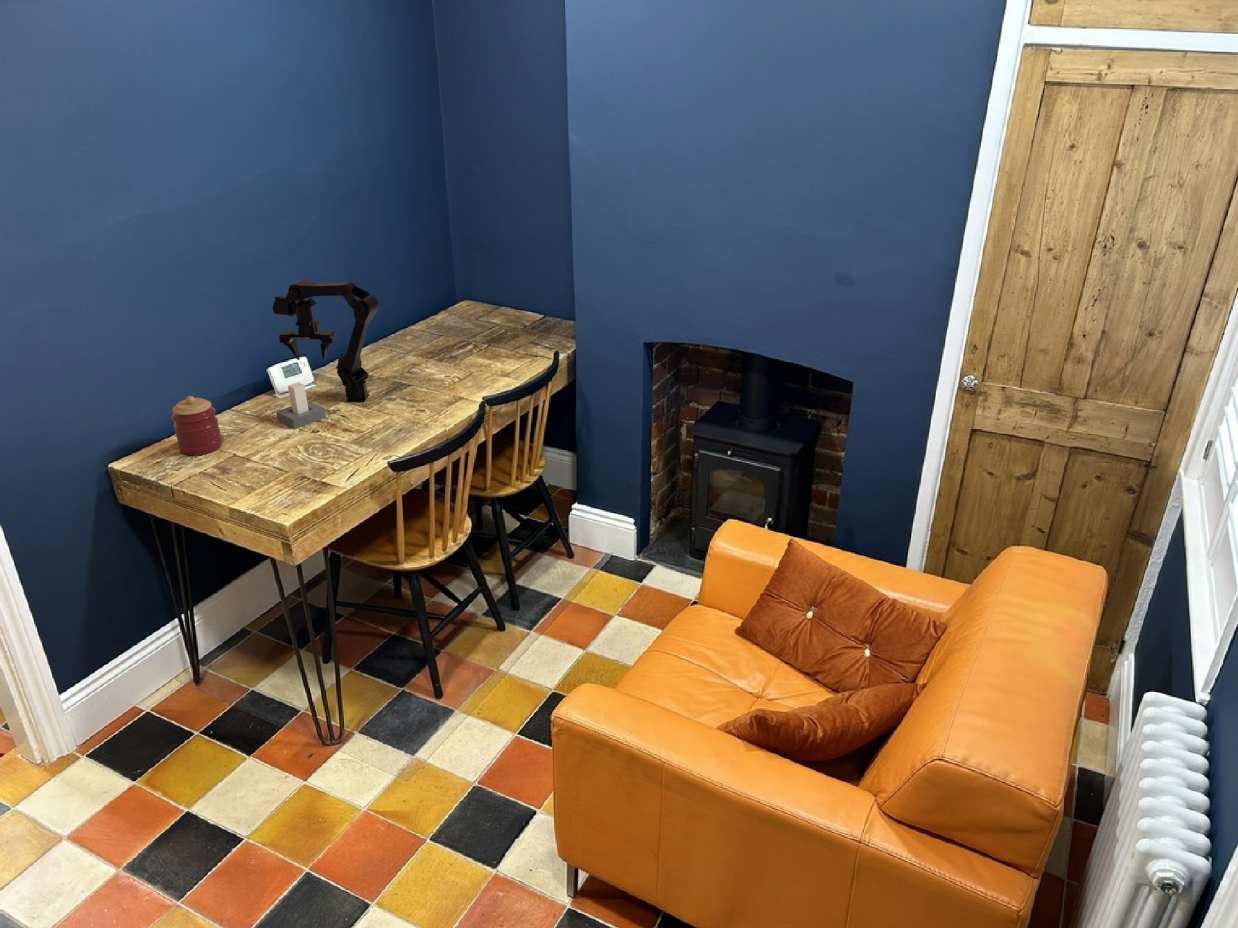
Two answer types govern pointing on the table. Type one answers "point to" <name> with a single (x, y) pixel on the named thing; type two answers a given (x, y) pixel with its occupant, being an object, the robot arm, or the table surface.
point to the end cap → (301, 416)
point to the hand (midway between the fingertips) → (311, 359)
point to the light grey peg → (298, 398)
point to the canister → (196, 426)
